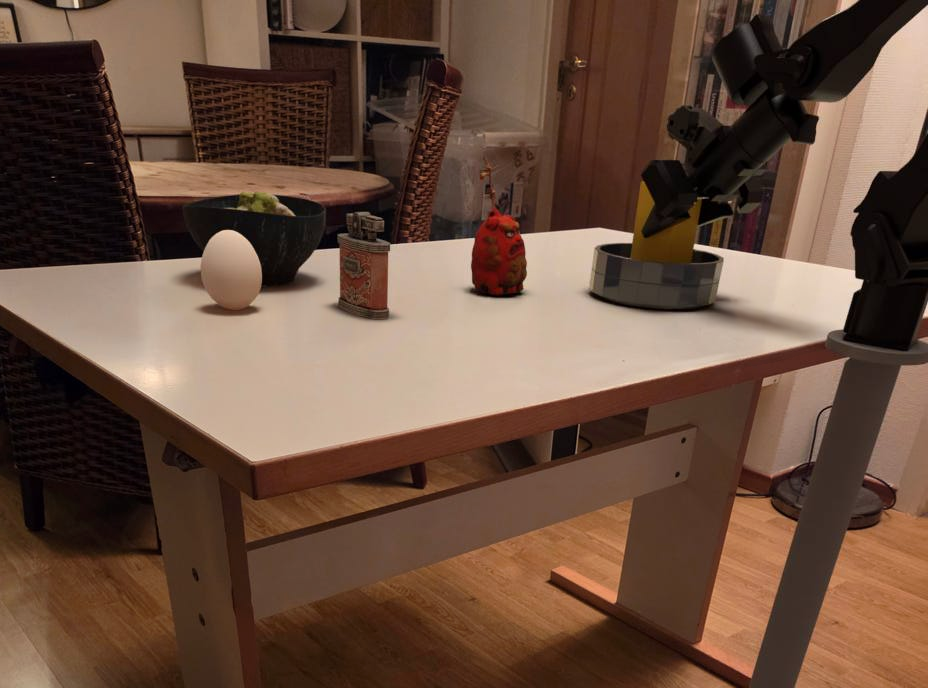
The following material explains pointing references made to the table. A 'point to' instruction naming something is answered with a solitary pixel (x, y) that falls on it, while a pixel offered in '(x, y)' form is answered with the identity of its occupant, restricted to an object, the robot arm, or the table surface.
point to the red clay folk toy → (498, 251)
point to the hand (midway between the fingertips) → (656, 233)
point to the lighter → (364, 267)
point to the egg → (231, 270)
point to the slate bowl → (654, 279)
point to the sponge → (664, 234)
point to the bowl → (262, 228)
